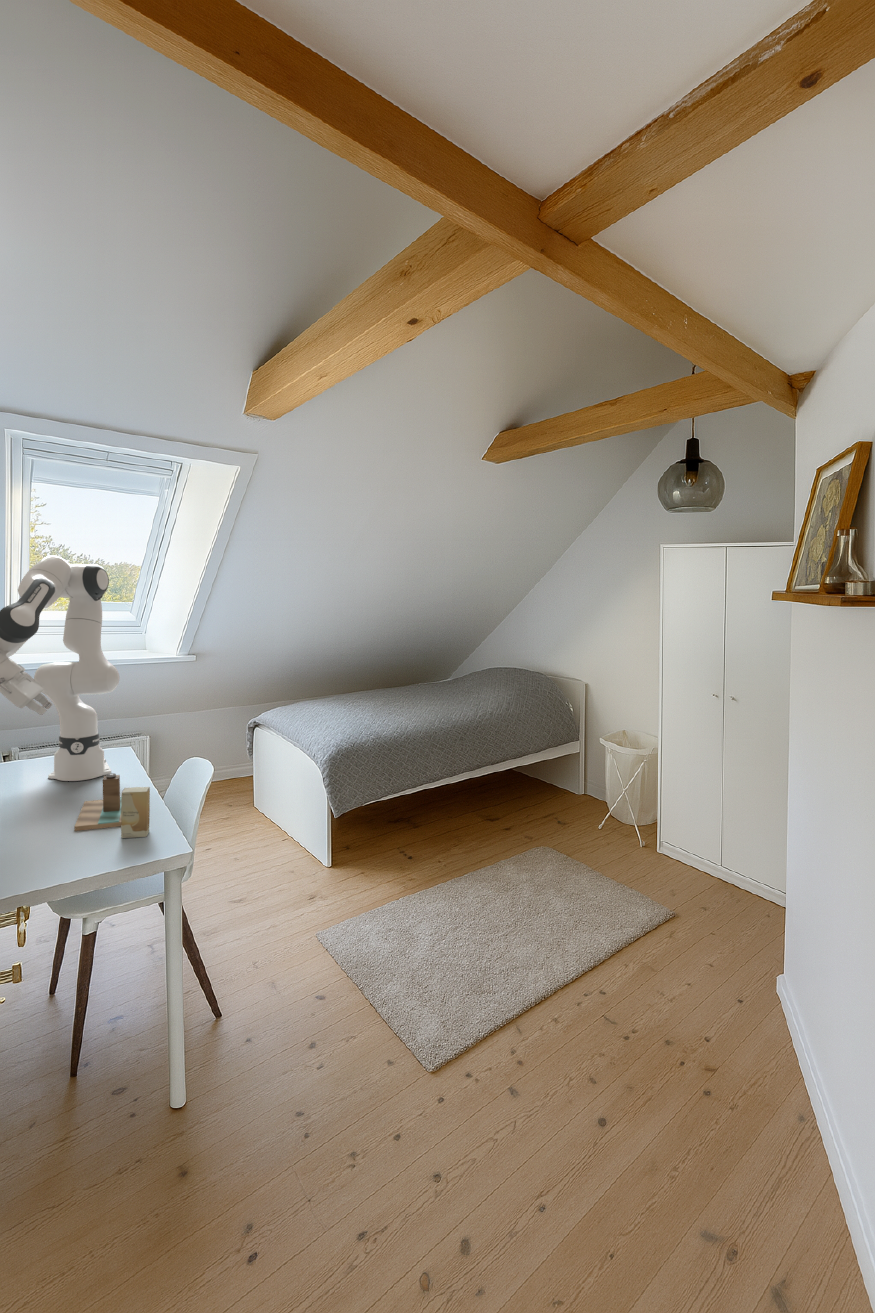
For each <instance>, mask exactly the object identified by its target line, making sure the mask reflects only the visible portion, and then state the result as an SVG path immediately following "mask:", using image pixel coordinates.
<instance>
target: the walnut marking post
mask: <svg viewBox="0 0 875 1313" xmlns="http://www.w3.org/2000/svg"><path fill="white" fill-rule="evenodd" d="M120 797H121V778H120V774H116V773H113V772H111V773H110V774H106V775H103V778H102V800H103V812H109V811H119V810H120Z"/></svg>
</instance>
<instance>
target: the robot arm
mask: <svg viewBox="0 0 875 1313" xmlns="http://www.w3.org/2000/svg"><path fill="white" fill-rule="evenodd" d="M109 584H110V580H109V575H108V572H107V571H106V569H104V567H103V566H101V565H98V564H93V563H88V564H84V563H83V564H82V563H73V564H72V563H71V564H70V563H69V562H68V561H67V560H65V559H64V558H62V557H60V556H57V555H48V556H45V557H43V558H41V559H40V560H39V561H37V562H36V563H35V564H34V565H33V566H32V567H31V568H30V569H29V570H28V571H27V572H26V573H25V574H24V576H23V577H22V579H21V581H20V583H19V585H18V588H17V592H18V595H19V599H18V600H16V602H14V603H12V604H9V605H6V606H4V607H2V608H1V609H0V694H1V695H2V696H4V698H6V700H8V701H10V703H12V704H13V705H14V706H16V707H17V708H19V709H23V708H25V707H26V708H28V709H30V710H32V711H33V712H36V713H37V714H39V716H43V715H44V714H45V713H46V712H47V710H49V709H50V708H51V707H52V706H53V705H54V707H55V709H56V711H57V714H58V719H59V736H58V747H59V748H58V750H56V752H55V753H54V754H53V755H54V756H53V761H54V762H53V771H52V772H51V773H49V774H48V779H50V780H51V779H52V780H54V779H55V780H58V781H63V782H68V781H69V782H77V781H78V782H79V781H85V780H91V779H96V778H98V777H99V778H100V777H102V776H106V775H107V774H111V773H112V770H111V767H110V766H109V764H108V762H107V760H106V759H105V750H104V749H103V748H102V747H101V746H100V740H101V738H100V734H99V733H98V732H99V730H98V713H97V711H96V709H95V708H93V707H92V706H90V705H88V704H87V703H84V702H83V700H81V697H80V695H82V696H83V695H87V696H88V695H91V696H92V695H93V696H94V695H96V696H97V695H103V694H109V693H112V692H114V691H115V690H116V689H117V687H118V685H119V683H120V673H119V670H118V669H117V667H116V666H115V665H113V663H111V662H110V661H109V659H107V658H106V656H105V655H104V653H103V650H102V644H101V642H102V625H103V606H102V601H101V599H102V598H103V596H104V595H105V593H106V592H107V590H108V588H109ZM59 598H63V599H68V600H69V603H68V606H67V610H66V614H65V621H64V628H63V637H62V638H63V639H62V642H63V645H64V647H66V648H67V649H68V650H69V651H71V652H73V653H75V654H77V655H78V658H79V659H78V661H54V662H48V663H44V664H41V665H39V666H38V668H37V669H36V671H35V672H34V674H33V675H34V676H33V677H32V676H31V675H30V674H29V673H28V672H26V668H24V667H23V666H22V665H21V664H18V663H16V661H13V660H12V659H11V658H10V657H12V656H13V655H14V654H16V652H18V651H19V650H20V649H21V648H22V647H23V646H24V645H25V644H26V643H27V642H28V640H30V639H31V638H33V636H35V635H36V633H37V632H38V630H39V627H40V615H41V613H42V612H43V610H44V609H46V608H49V607H50V606H52V605H53V604H54V603H55V602H56V601H57V600H59ZM46 696H47V697H48V698H47V697H46ZM50 700H51V701H50ZM37 702H38V703H37ZM40 704H41V705H42V706H41V705H40Z"/></svg>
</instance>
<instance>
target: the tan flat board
mask: <svg viewBox="0 0 875 1313" xmlns="http://www.w3.org/2000/svg"><path fill="white" fill-rule="evenodd" d="M116 827H117V828H118V827H121V796H120V810H119V811H109V812H103V799H93V800H84V802H83V804H82V807H81V809H80V812H79V814H78V816H77V818H76V822H75V824H74V830H73V831H74V832H77V831H78V832H80V831H89V830H97V829H98V830H99V829H105V828H106V829H107V828H116Z"/></svg>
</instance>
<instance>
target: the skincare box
mask: <svg viewBox="0 0 875 1313" xmlns="http://www.w3.org/2000/svg"><path fill="white" fill-rule="evenodd" d="M150 791H151V787H150V786H141V787H140V786H136V787H124V788H123V790H122V791H121V794H120V797H121V826H120V838H121V839H126V838H129V839H130V838H147V837H148V834H149V833H150V817H151V816H150V811H151V810H150V807H151V806H150V805H151V802H150V801H151V799H150V798H151V797H150V796H151V793H150Z"/></svg>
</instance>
